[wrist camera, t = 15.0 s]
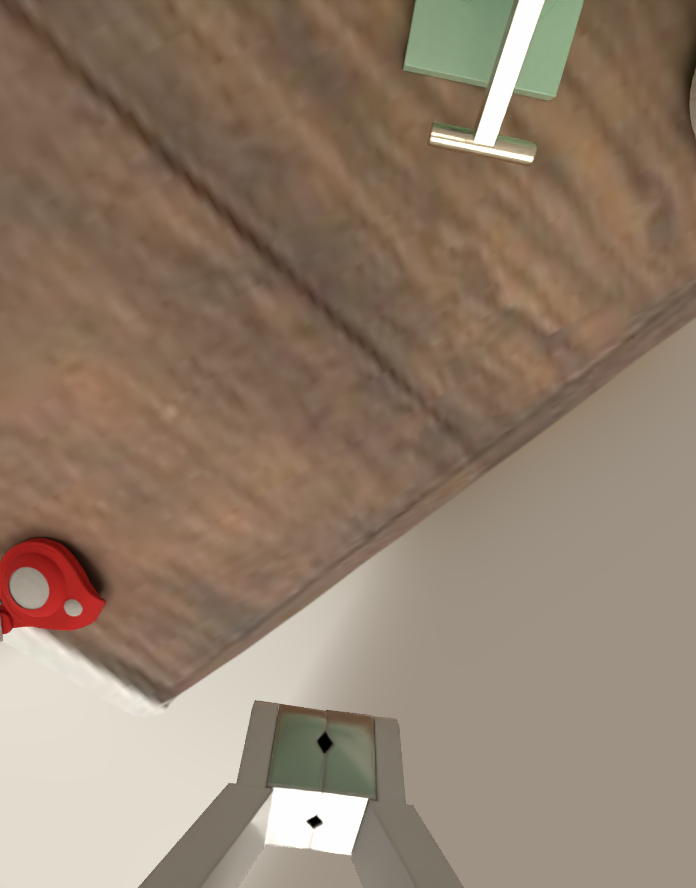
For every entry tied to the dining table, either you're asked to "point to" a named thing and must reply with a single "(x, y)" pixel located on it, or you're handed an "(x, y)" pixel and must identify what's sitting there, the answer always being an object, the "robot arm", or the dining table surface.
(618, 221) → the dining table surface
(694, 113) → the ramekin
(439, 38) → the switch bracket
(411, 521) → the dining table surface
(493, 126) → the lever
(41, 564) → the tracker holder
